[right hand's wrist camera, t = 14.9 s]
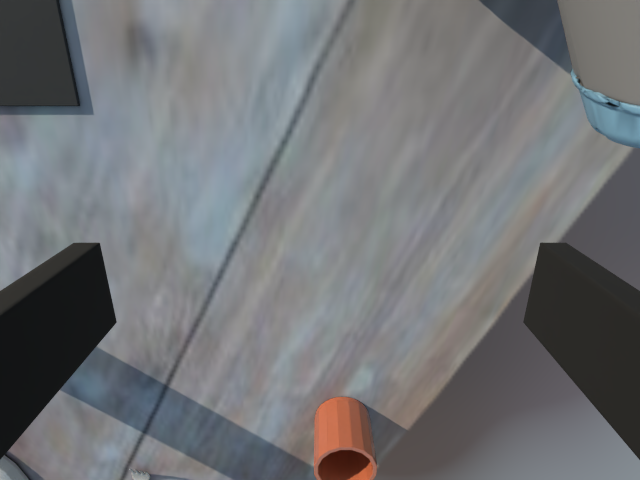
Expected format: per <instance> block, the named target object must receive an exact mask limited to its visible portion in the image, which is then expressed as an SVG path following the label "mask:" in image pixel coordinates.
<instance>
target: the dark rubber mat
mask: <svg viewBox="0 0 640 480" xmlns="http://www.w3.org/2000/svg"><path fill="white" fill-rule="evenodd" d="M0 106H80V103H79V98H78V93H77V88H76V83H75V79H74V74H73V69H72V64H71V59H70V54H69V49H68V44H67V39H66V34H65V30H64V25H63V20H62V15H61V10H60V5H59V0H0Z"/></svg>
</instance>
